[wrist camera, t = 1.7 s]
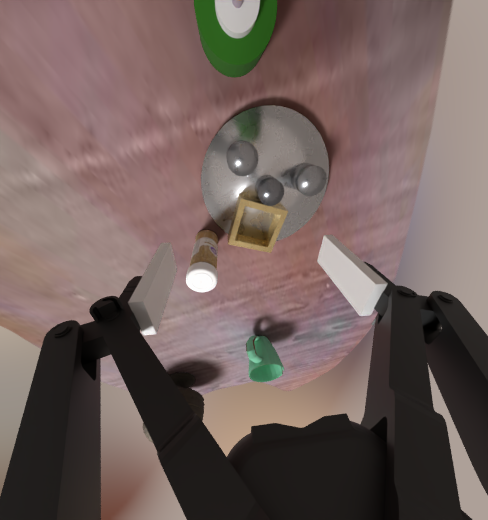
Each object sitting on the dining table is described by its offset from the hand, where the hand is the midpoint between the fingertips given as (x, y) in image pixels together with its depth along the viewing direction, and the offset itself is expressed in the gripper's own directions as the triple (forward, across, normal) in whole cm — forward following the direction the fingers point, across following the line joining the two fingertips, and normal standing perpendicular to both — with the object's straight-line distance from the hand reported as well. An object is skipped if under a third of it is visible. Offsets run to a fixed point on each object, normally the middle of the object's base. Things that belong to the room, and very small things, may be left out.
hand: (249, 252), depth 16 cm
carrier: (+21, +5, +1) cm, 22 cm away
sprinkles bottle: (+21, -6, -9) cm, 24 cm away
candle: (+21, 0, +19) cm, 29 cm away
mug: (+22, +6, -44) cm, 49 cm away
